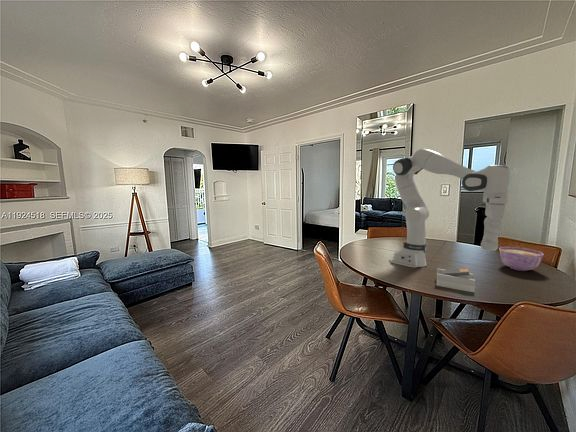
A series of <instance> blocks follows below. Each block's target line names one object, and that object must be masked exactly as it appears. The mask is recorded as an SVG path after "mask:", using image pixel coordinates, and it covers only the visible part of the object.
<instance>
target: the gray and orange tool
mask: <svg viewBox="0 0 576 432" xmlns="http://www.w3.org/2000/svg"><path fill="white" fill-rule="evenodd" d="M469 273H470V271H469V268H459V269H457V268H456V269H445V270H441V274H443V275H449V276H463V275H469Z"/></svg>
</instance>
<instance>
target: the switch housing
mask: <svg viewBox="0 0 576 432" xmlns="http://www.w3.org/2000/svg"><path fill="white" fill-rule="evenodd" d="M436 269H437V270H436V283H435V284H436V286H437V287H442V288H447V289H453V290H458V291H463V292H469V293H475V291H476V290H475V289H476V279H474V274H473V273H470V272H469V275H463V276H449V275H443V274H441V270H446V269H442V268H436Z"/></svg>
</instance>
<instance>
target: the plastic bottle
mask: <svg viewBox="0 0 576 432" xmlns="http://www.w3.org/2000/svg"><path fill="white" fill-rule="evenodd" d="M483 225H484V227H483V228H484V229H483V237H482V240H481V242H480V247H481V249H482V250H484V251H488V252H495V251H497V250H498V249H499V243H498V242H499V241H498V240H499V231H500V227H501V225H502V220H498V222H497V224H496V228H495V229H493V228H491V219H490V218H489V217H488V216H486V217H485V218H484V220H483Z"/></svg>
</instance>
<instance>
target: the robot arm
mask: <svg viewBox="0 0 576 432" xmlns="http://www.w3.org/2000/svg"><path fill="white" fill-rule="evenodd" d="M392 168H393V169H392V170H393V172H394V174H395V176H394V181H395V185H396V189H397V191H398V194H399V196H400V200H401V202H403V204H404V206H405V207H406V208H407V210H406V212H405V217H404V218H405V223H406V240H404V241H403V242H402V247H400V248H399V249H397V250H396V251H395V252H394V254H393V256H392V257H390V258H389V262H390V263H392V264H395V265H401V266H405V267H409V268H413V269H414V268H424V267H426V266H427V261H426V251H427V244H426V238H427V231H426V220H427V219H428V218H429V217H430V211H429V209H428V207H427V205H426V203H425V202H424V199H423V198H422V196H421V195H420V192H419V189H418V187H417V184H416V182H415V180H414V175H417V174H419V173H420V172H421V171H422V170H425V171H426V172H429V173H433V174H435V175H447V176H448V175H449V176H453V177H457V178H458V179H461V186H462V188H463V189H464V190H465V191H467V192H472V193H473V192H476V193H477V192H481V193H482V192H483V195H482V196H483V197H482V203H485V212H484V215H485V216H486V217H487V216H488V217H489V218H490V219H491V228H493V229H495V228H496V224H497V222H498V220H501V221H502V219H503V217H504V214H505V208H506V205H508V195H509V191H508V188H509V185H510V178H511V177H510V176H511V175H510V174H511V171H510V169H509V167H508V166H506V165H500V164H489V165H487V166H486V167H484V168H482V169H479V170H477V171H476V170H474V169H471V168H468V167H467V166H464V165H461V164H460V163H457V162H455V161H454V160H452V159H450V158H449V157H447V156H445V155H443V154H441V153H439V152H437V151H434V150H432V149H427V148H420V149H418V150H417V149H416V151H415V152H414V154H413V155H411V156H405V157H403V158H400V159H397V160H395V161H394V163H393V165H392Z"/></svg>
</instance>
